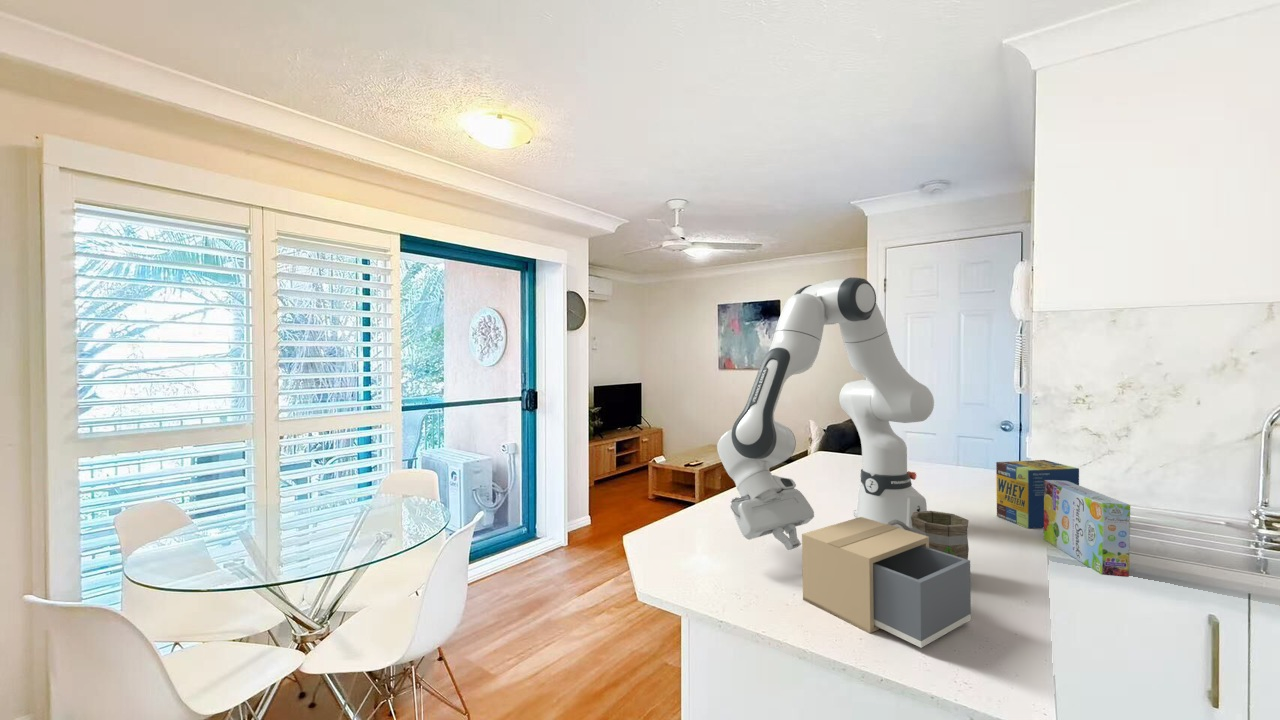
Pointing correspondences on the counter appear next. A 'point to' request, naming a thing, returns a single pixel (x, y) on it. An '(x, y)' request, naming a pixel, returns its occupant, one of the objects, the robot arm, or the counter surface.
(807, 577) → the mailer sleeve
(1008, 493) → the protein box
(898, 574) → the mailer tray
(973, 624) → the counter surface
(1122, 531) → the snack box
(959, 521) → the mug
